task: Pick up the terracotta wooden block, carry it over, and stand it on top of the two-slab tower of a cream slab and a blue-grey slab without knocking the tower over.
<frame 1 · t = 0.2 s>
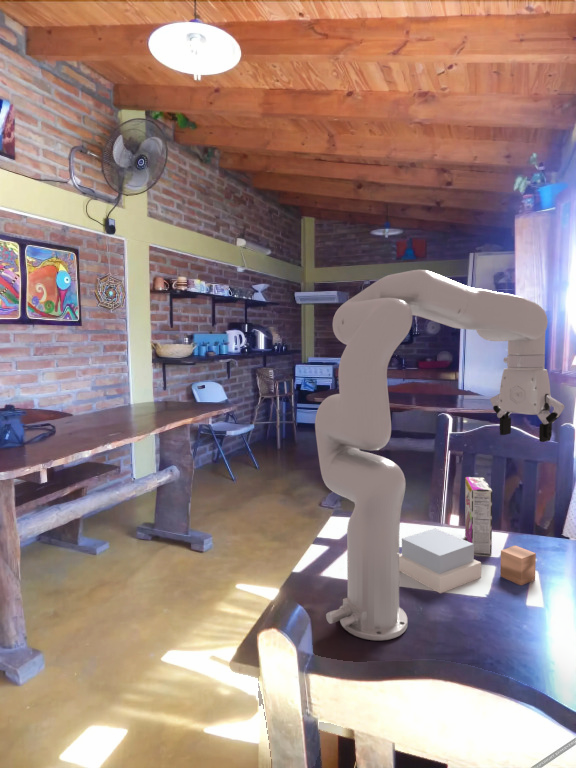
hand: (524, 437, 112), 30 cm above the table, tool pointing down, fingers open, 9 cm apart
tower base: (437, 575, 111), on the table, touching tower top
terracotta block: (517, 578, 108), on the table
candy bar box: (477, 546, 125), on the table
tower top: (437, 558, 110), point 3 cm above the table, touching tower base
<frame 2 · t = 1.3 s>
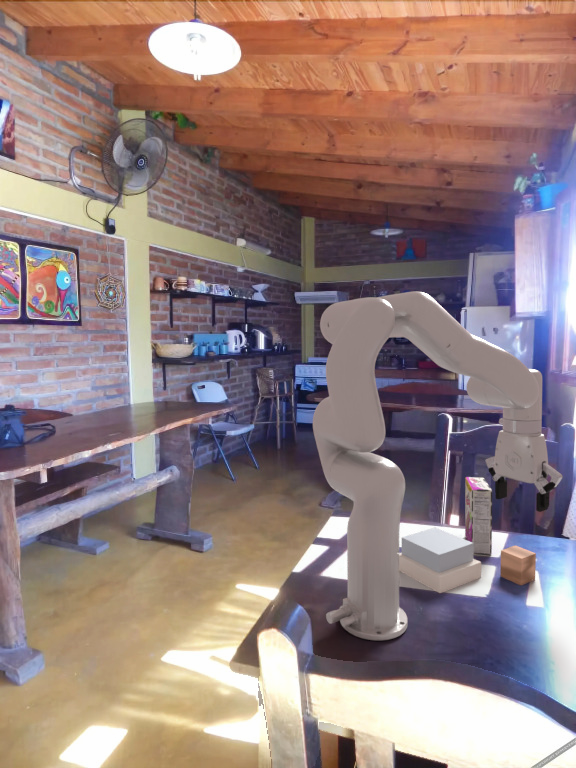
hand: (520, 504, 107), 17 cm above the table, tool pointing down, fingers open, 9 cm apart
tower base: (437, 575, 111), on the table
tower top: (436, 557, 111), point 4 cm above the table
everything else where it was.
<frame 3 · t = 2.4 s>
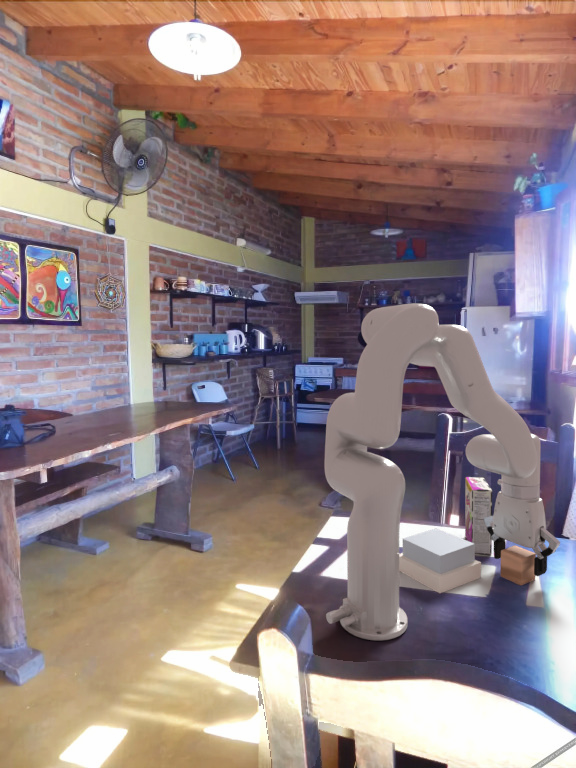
hand: (519, 565, 108), 3 cm above the table, tool pointing down, fingers open, 9 cm apart
tower base: (437, 575, 111), on the table, touching tower top
tower top: (438, 558, 110), point 3 cm above the table, touching tower base
everything else where it was.
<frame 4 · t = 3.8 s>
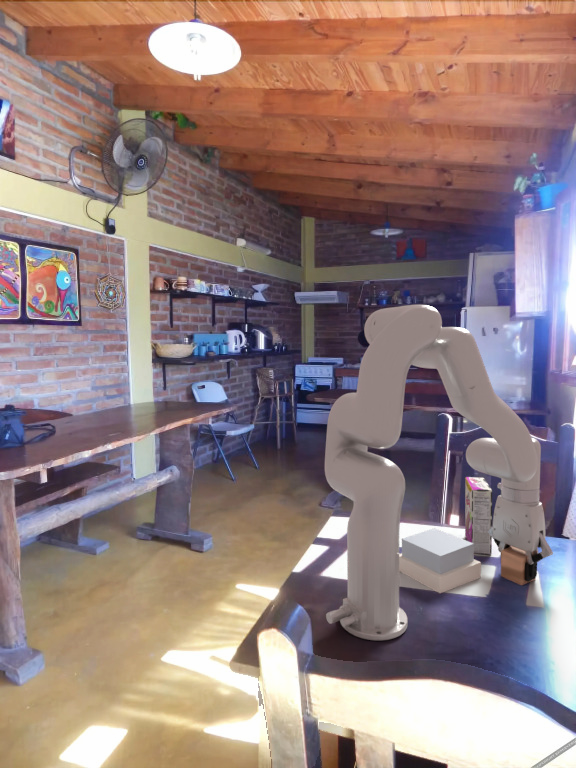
hand: (518, 573, 108), 1 cm above the table, tool pointing down, fingers closed on terracotta block, 4 cm apart
terracotta block: (518, 577, 108), on the table, touching gripper
everything else where it was.
when the fingers open (10 cm above the table, at t = 9.4 s): terracotta block drops 2 cm, resting on tower top.
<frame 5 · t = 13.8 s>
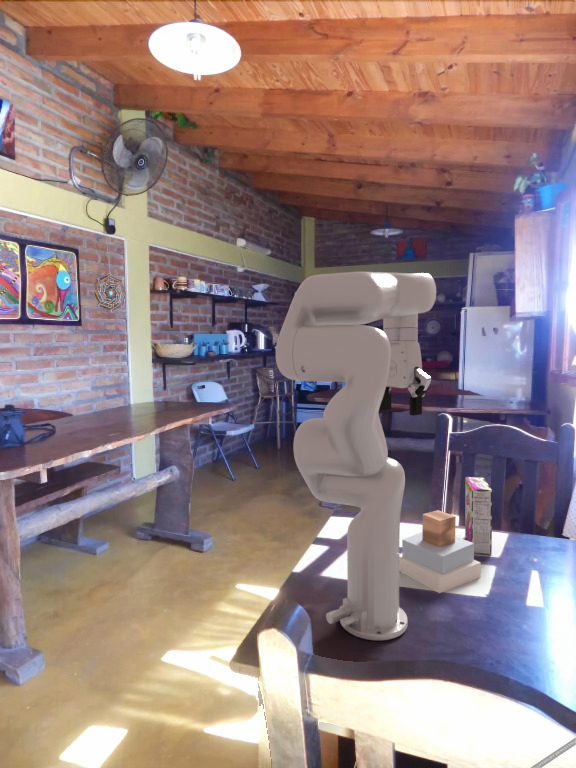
hand: (400, 412, 111), 36 cm above the table, tool pointing down, fingers open, 9 cm apart
terracotta block: (438, 541, 110), point 7 cm above the table, touching tower top
tower top: (437, 558, 110), point 3 cm above the table, touching terracotta block, tower base
everything else where it was.
at the end: terracotta block 0.2 cm off-centre on the tower top, point 4.0 cm above the tower top's base; terracotta block tilted 1°; tower top 0.2 cm off-centre on the tower base, point 4.0 cm above the tower base's base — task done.
